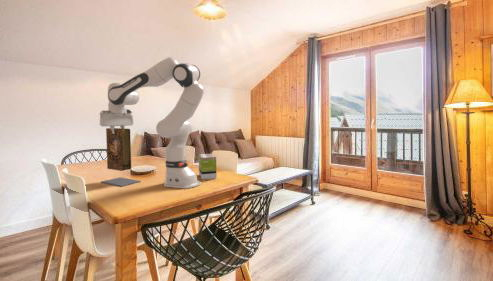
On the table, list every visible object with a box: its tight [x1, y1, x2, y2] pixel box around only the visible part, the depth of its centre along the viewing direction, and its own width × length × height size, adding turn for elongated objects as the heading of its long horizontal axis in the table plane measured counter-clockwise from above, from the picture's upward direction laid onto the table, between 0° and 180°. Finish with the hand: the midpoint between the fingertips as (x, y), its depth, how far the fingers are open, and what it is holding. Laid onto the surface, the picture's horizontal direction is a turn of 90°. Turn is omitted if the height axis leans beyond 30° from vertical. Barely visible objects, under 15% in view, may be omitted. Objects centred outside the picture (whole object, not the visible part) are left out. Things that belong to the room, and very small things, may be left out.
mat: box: [100, 176, 141, 188], centre depth 159 cm, size 20×13×1 cm, turn 62°
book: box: [105, 127, 132, 172], centre depth 158 cm, size 16×6×25 cm, turn 62°
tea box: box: [198, 153, 217, 181], centre depth 173 cm, size 15×10×15 cm, turn 17°
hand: (117, 133), depth 157 cm, fingers closed on book, 3 cm apart
